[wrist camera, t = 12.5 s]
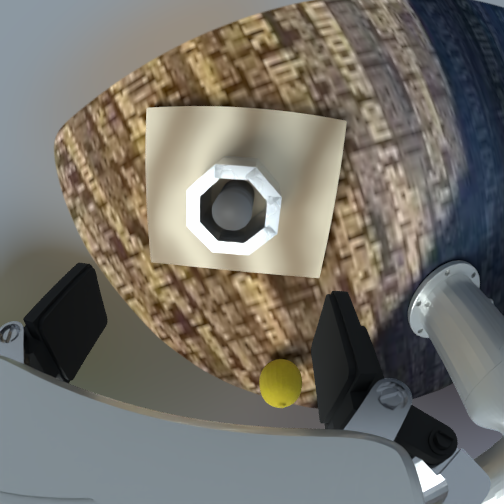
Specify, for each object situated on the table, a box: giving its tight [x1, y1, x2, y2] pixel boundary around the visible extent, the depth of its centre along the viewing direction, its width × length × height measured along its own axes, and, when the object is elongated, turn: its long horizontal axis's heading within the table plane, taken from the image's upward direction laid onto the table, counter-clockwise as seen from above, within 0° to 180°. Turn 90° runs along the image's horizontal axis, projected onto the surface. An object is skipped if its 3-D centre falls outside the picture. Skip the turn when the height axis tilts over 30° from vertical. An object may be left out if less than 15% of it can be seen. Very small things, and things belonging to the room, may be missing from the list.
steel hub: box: [187, 156, 282, 255], centre depth 23 cm, size 7×7×5 cm
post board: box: [146, 106, 347, 278], centre depth 23 cm, size 18×16×6 cm
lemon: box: [259, 359, 302, 408], centre depth 33 cm, size 6×6×8 cm
